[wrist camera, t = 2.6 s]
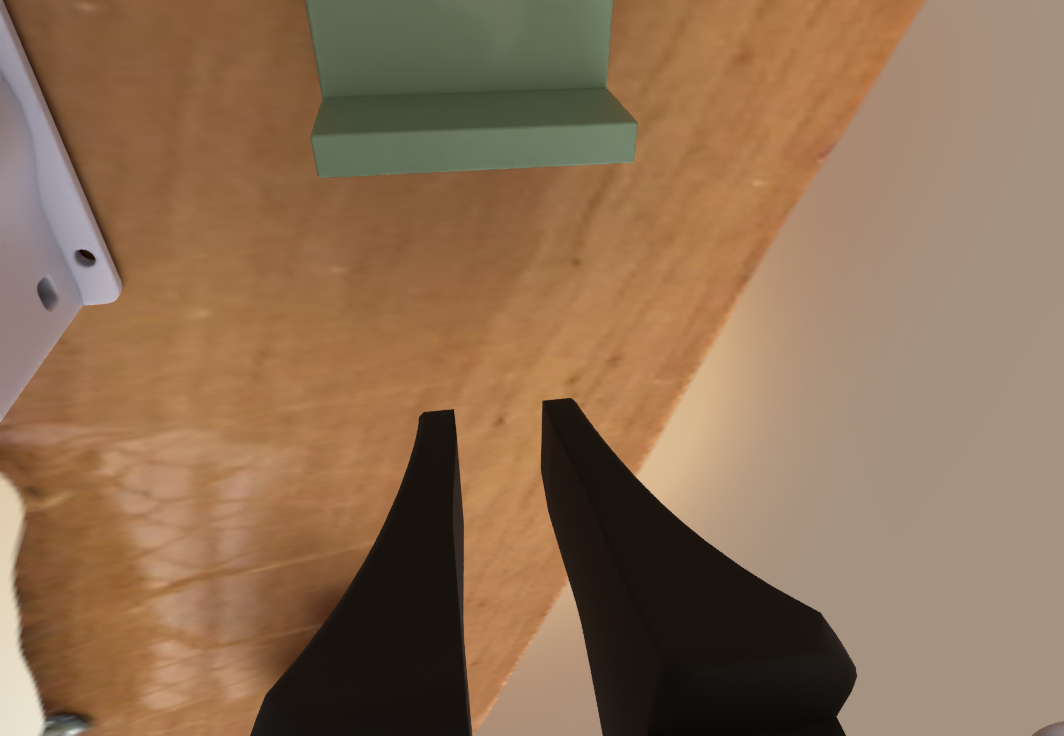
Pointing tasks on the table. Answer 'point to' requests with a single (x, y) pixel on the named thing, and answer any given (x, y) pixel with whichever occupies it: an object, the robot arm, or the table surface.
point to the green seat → (464, 86)
